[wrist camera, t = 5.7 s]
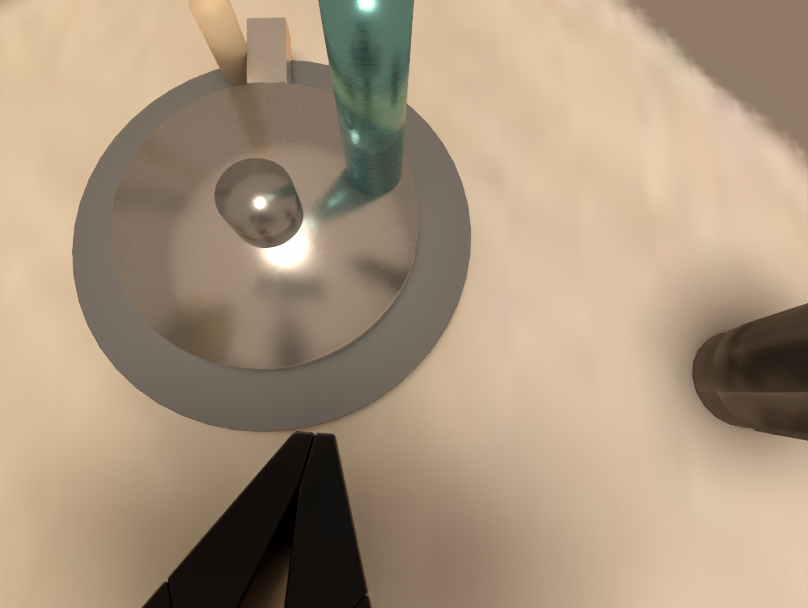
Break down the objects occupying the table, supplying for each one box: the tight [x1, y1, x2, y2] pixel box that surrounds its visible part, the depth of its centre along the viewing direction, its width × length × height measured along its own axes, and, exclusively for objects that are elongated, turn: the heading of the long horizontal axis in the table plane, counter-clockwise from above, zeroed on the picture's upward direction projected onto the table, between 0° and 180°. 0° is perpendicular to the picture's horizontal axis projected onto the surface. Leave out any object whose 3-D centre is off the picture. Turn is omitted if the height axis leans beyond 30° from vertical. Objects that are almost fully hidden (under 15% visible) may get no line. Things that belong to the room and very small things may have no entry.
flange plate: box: [110, 0, 420, 371], centre depth 15 cm, size 15×14×10 cm
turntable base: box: [72, 0, 471, 432], centre depth 19 cm, size 18×18×6 cm
